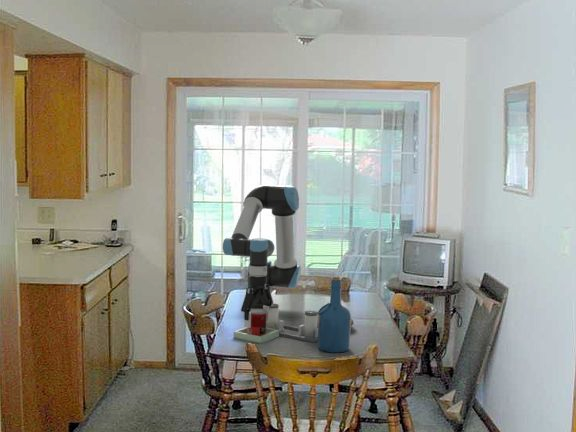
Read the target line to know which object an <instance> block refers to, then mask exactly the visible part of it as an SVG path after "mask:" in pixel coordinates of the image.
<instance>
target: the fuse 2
mask: <svg viewBox="0 0 576 432" xmlns="http://www.w3.org/2000/svg"><path fill="white" fill-rule="evenodd" d="M317 320H318V311H317V310H306V311H304V320H303V321H304V335H303V337H308V338H313V339H314V338H315V329H317Z"/></svg>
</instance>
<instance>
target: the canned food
mask: <svg viewBox="0 0 576 432" xmlns="http://www.w3.org/2000/svg"><path fill="white" fill-rule="evenodd" d="M250 312H251V328H248V330H247V334H251V335H256V336H263V335H265V334H266V310H263V309H253V308H251V310H250Z"/></svg>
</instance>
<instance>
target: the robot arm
mask: <svg viewBox="0 0 576 432" xmlns="http://www.w3.org/2000/svg"><path fill="white" fill-rule="evenodd" d="M242 204H243V208H242V211H241V213H240V216H239V218H238V219H237V220H238V221H237V223H236V224H235V227H234V230H233V233H232V235H231V237H226V238H224V239H223V242H222V252H223V254H224V255H225V256H226V255H227V256H228V255H229V256H235V257H249V264H248V267H247V288H246V289H245V295H244V297H243V298H244V299H243V302H242V305H241V309H240V311H241V312H243V313H244V318H243V319H244V327H243V328H245V327H247V328H251V312H250V310H251V309H263V310H266V321H269V306H272V304H274V300H273V296H272V292H271V287H272V288H273V287H274V288H284V289H285V288H286V289H295V288H297V287H298V284H299V281H300V277H301V270H302V268H301V265H299V264H298V261H297V259H296V258H295V257H294V256H295V255H294V254H295V252H294V250H295V249H294V221H293V220H294V219H293V218H294V217H293V216H294V215H295V214H296V211H298V210H299V208H300V198H299V192H298V189H297V188H296V187H295V186H293V185H286V184H284V185H282V184H281V185H280V184H279V185H278V184H262V185H258V186H256V187H255V188H254V189H252V190H250V192H248V194H247V195H246V196H245V198H244V200H243V203H242ZM263 210H271V214H272V215H273V216H274V223H275V224H274V225H275V243H276V244H274V241H272V240H271V239H267V238H262V237H260V238H259V237H256V238H255V237H254V238H252V239H251V238H250V236H251V233H252V231H253V229H254V226H255V224H256V221H257V218H258V216H259V214H260V213H261V212H262V211H263ZM249 238H250V239H249ZM275 247H276V248H275ZM275 250H276V251H275ZM274 251H275V252H276V259H275V260H274V261H273V263H272V260H271V259H268V257H270V256H272V255H273V253H274Z"/></svg>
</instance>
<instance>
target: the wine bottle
mask: <svg viewBox="0 0 576 432" xmlns="http://www.w3.org/2000/svg"><path fill="white" fill-rule="evenodd" d="M341 294H342V280H341V277H340V276H338V275H334V276H333V277H332V279H331V284H330V300H329V301H330V302H328V303H326V304H324V305H323V306H321V307H320V309H319V310H318V311H317V312H318V315H319V319H318V341H317V348H318V349H320V350H321V351H322V352H323V351H324V352H327V353H333V354H335V353H336V354H337V353H343V352H344V353H345V352H347V351H349V348H350V347H351V328H352V326H351V320H352V313H351V311H350V310H349V308H347V307H345V306H344V305H342V300H341V299H342V295H341Z"/></svg>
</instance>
